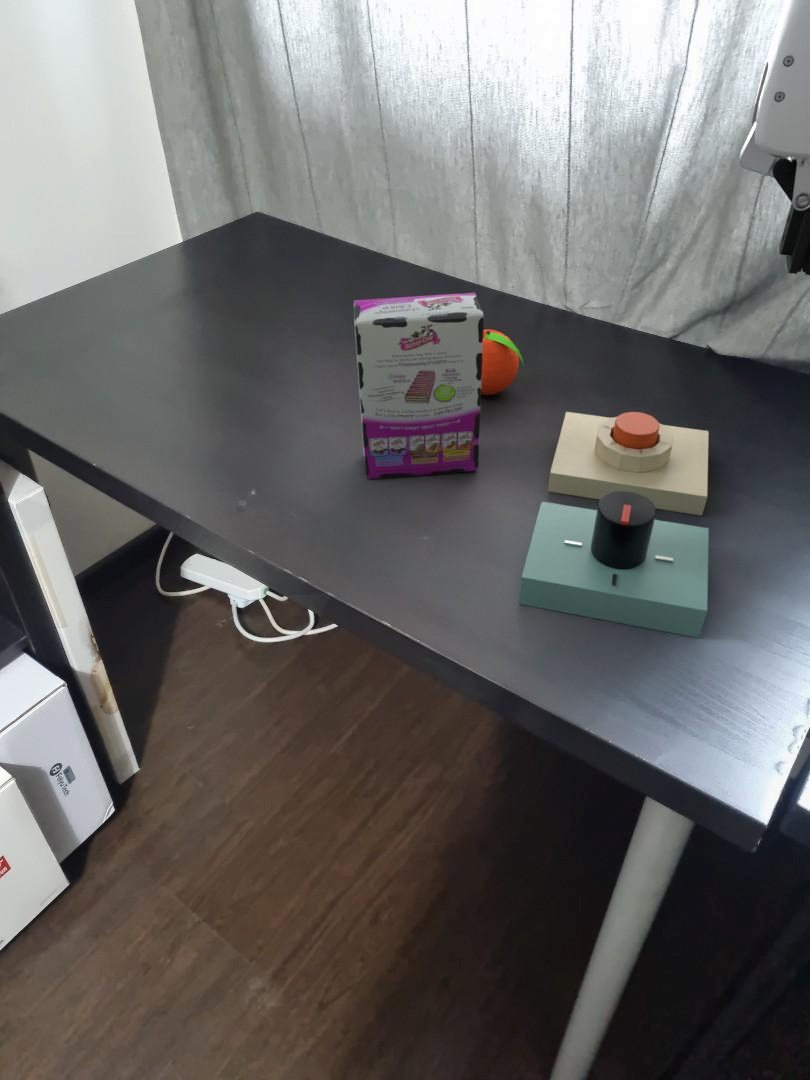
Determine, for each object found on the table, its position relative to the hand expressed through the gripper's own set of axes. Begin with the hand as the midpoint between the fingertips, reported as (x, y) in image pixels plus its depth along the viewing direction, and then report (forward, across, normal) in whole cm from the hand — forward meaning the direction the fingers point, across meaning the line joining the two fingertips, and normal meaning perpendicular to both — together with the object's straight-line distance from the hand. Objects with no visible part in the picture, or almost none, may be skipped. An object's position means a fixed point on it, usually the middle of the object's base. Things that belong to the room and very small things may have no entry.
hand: (799, 266), depth 55 cm
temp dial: (+22, +8, +6) cm, 24 cm away
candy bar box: (+25, +28, -6) cm, 38 cm away
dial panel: (+25, +8, +6) cm, 27 cm away
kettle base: (+25, +8, -10) cm, 28 cm away
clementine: (+25, +24, -21) cm, 41 cm away
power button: (+22, +8, -10) cm, 25 cm away
